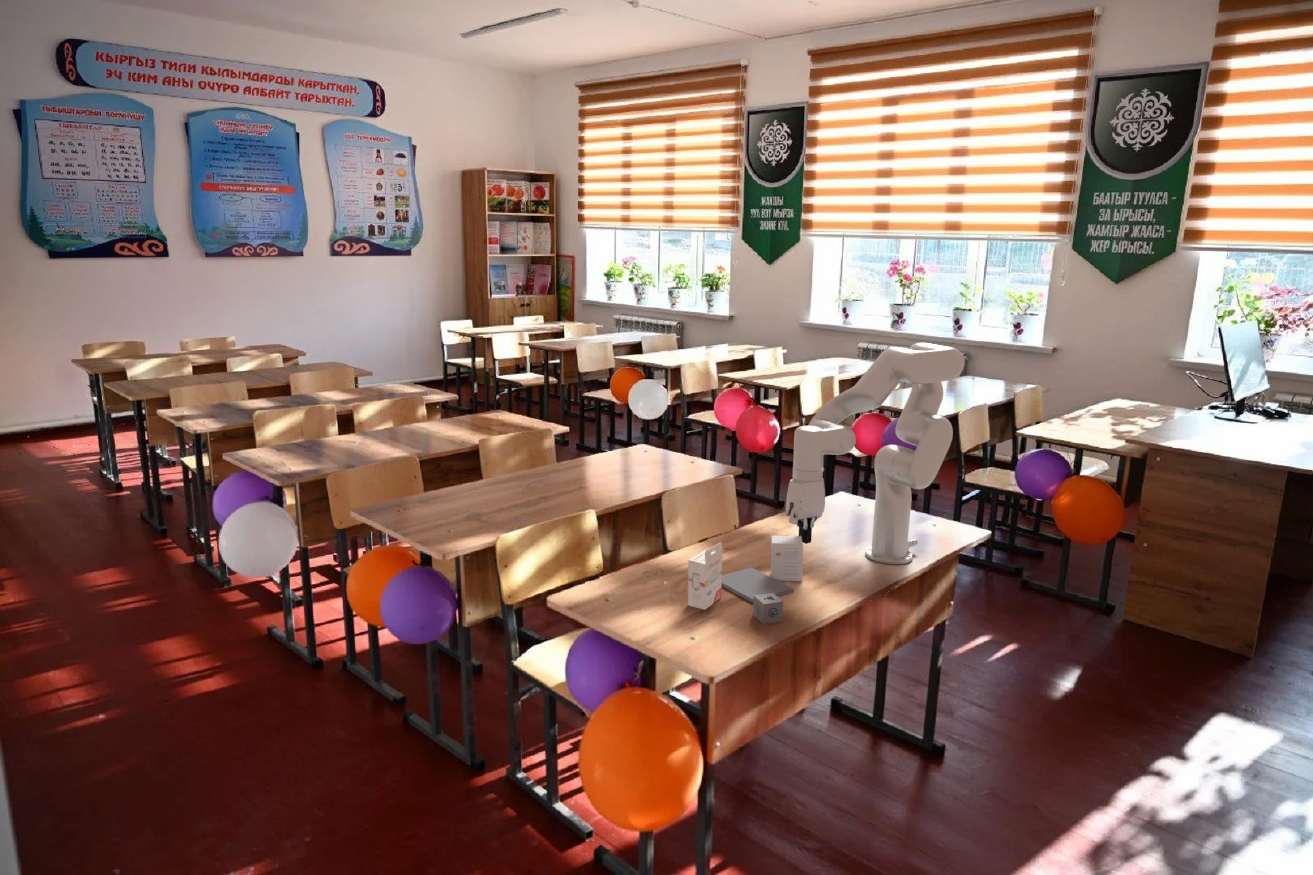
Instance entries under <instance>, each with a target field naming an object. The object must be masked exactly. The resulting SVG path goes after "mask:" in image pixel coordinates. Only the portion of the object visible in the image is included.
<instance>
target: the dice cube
mask: <svg viewBox="0 0 1313 875" xmlns="http://www.w3.org/2000/svg"><path fill="white" fill-rule="evenodd" d="M752 605H753V607H752V609H753V610H752V616H753V617H754V618H755V619H756V620H757V621H759V622H760V623H761V625H767V624H775V623H780V622H783V615H784V614H783V613H784V601H783V599H781V598H780V596H778V597H777V596H776V595H775V594H774V593H769V594H762V595H755V596H754V603H752Z"/></svg>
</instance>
